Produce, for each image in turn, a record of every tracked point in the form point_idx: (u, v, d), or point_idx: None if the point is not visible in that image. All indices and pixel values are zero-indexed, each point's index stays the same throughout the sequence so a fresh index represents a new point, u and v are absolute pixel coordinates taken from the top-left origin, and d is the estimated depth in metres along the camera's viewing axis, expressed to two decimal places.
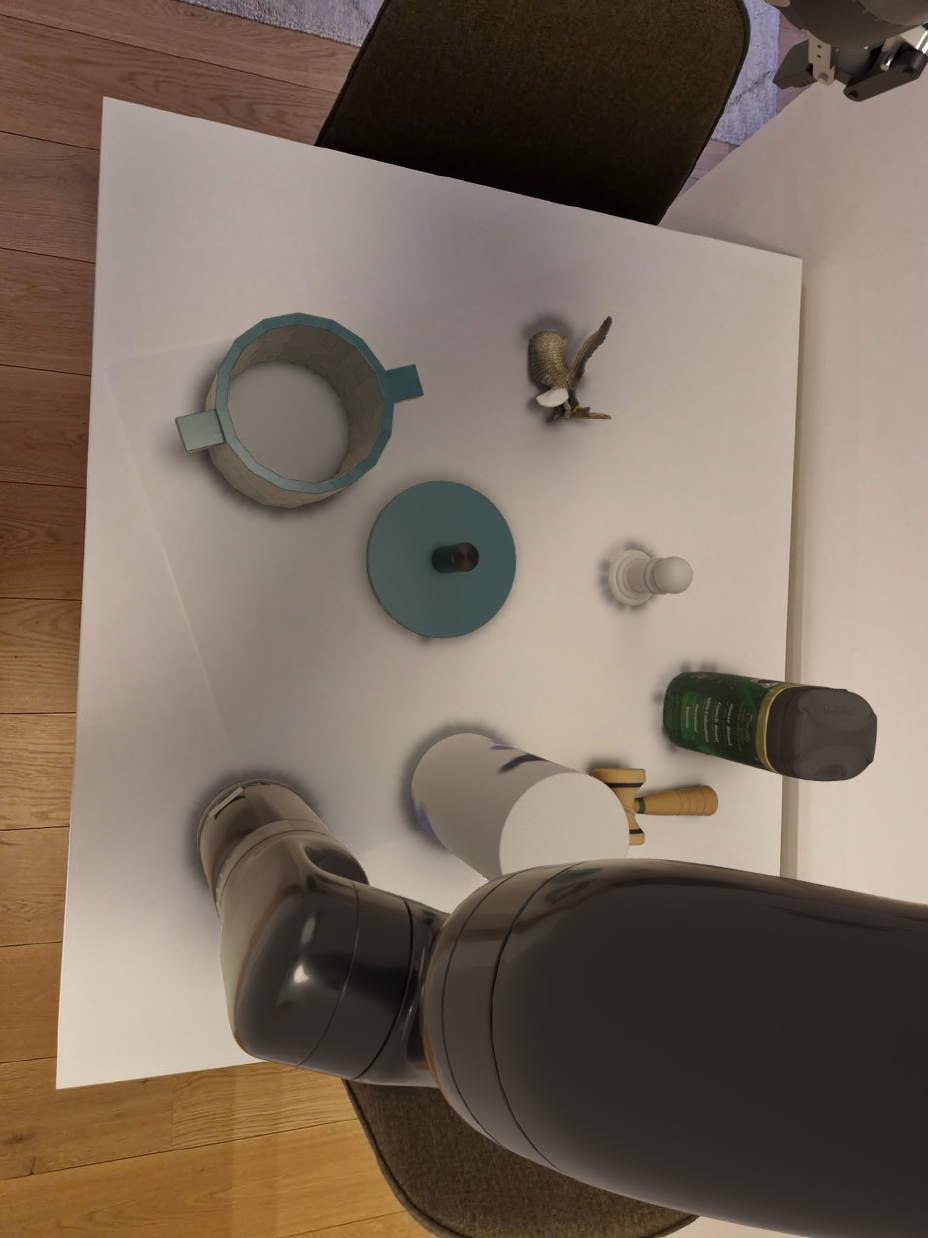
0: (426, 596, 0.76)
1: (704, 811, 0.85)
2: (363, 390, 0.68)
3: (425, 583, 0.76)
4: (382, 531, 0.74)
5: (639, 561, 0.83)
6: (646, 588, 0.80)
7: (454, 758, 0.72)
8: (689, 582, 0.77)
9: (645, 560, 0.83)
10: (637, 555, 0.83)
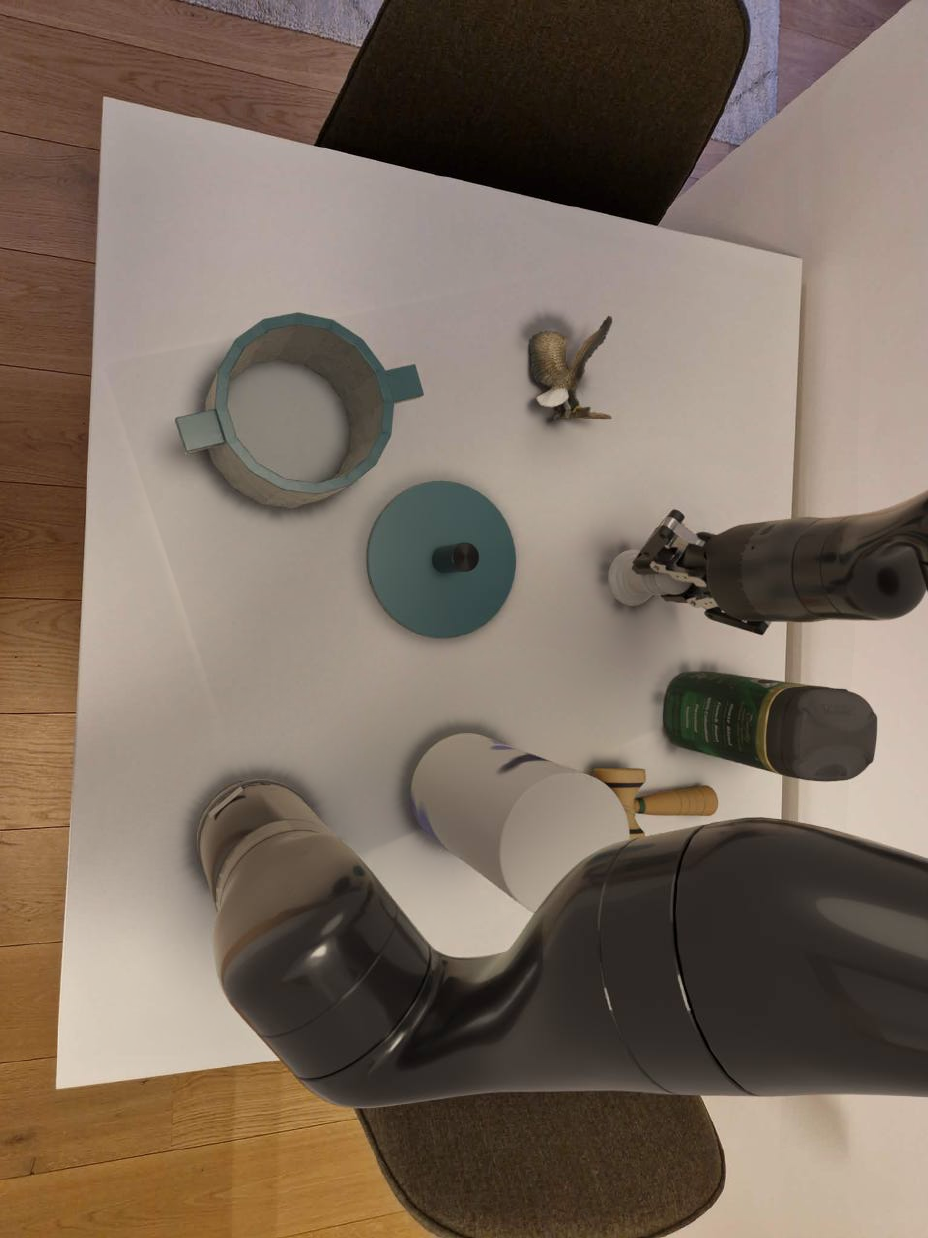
0: (426, 596, 0.76)
1: (704, 811, 0.85)
2: (363, 390, 0.68)
3: (425, 583, 0.76)
4: (382, 531, 0.74)
5: None
6: (647, 588, 0.80)
7: (454, 758, 0.72)
8: (690, 583, 0.77)
9: None
10: None
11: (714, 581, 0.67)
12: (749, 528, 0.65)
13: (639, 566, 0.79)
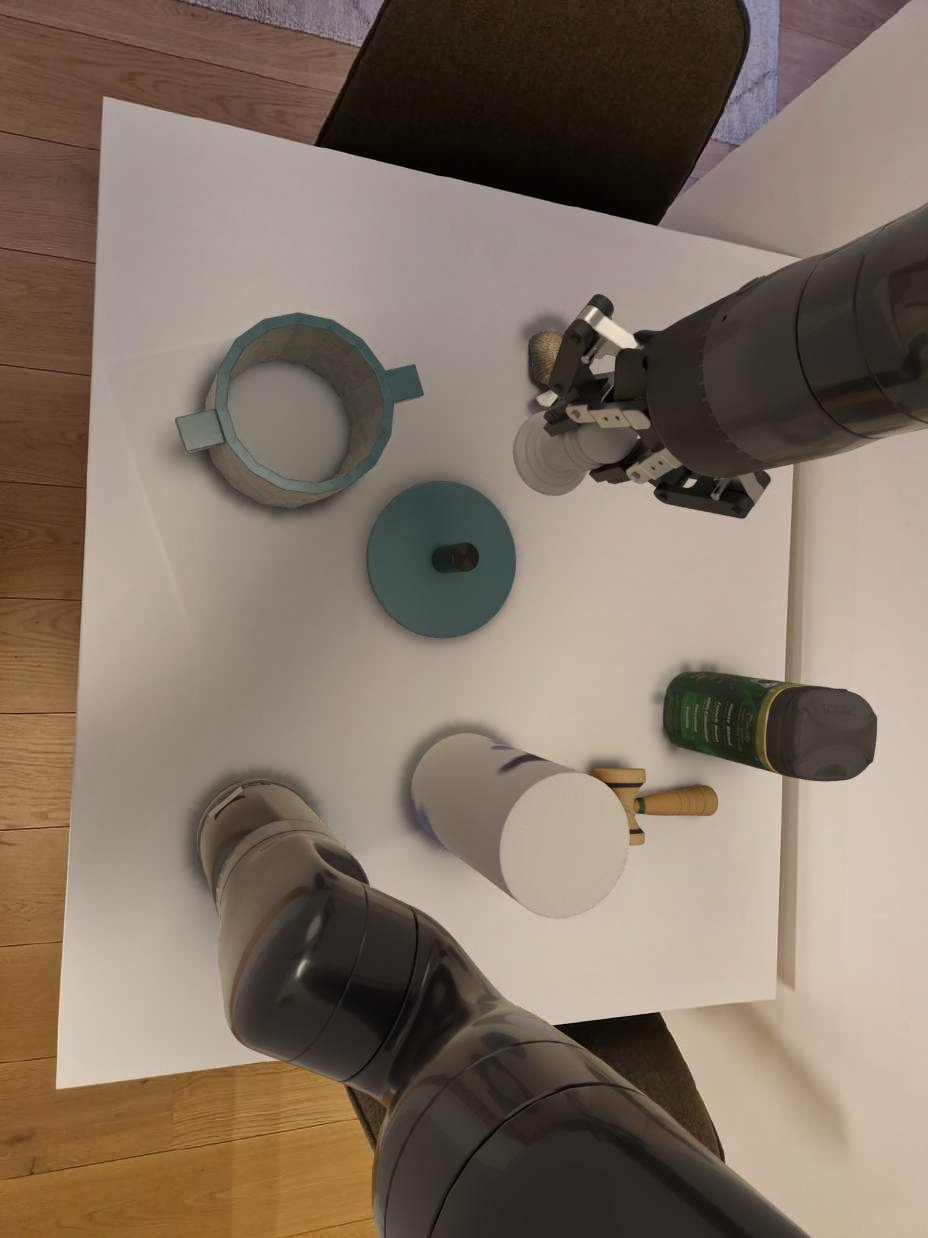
0: (426, 596, 0.76)
1: (704, 811, 0.85)
2: (363, 390, 0.68)
3: (425, 583, 0.76)
4: (382, 531, 0.74)
5: None
6: (567, 459, 0.51)
7: (454, 758, 0.72)
8: (631, 442, 0.48)
9: None
10: None
11: (658, 399, 0.38)
12: (719, 300, 0.37)
13: (553, 421, 0.50)
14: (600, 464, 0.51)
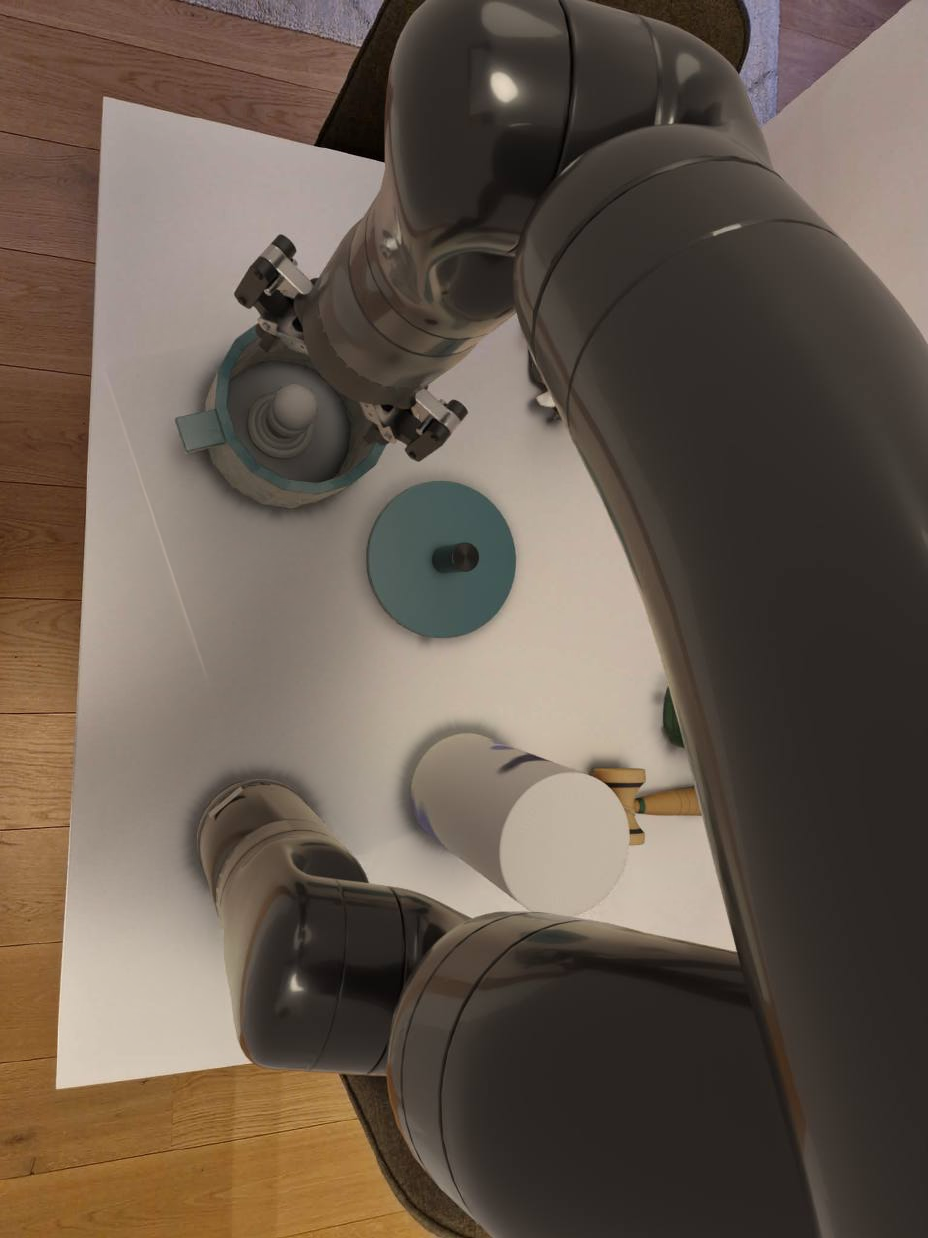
0: (426, 596, 0.76)
1: None
2: None
3: (425, 583, 0.76)
4: (382, 531, 0.74)
5: None
6: (273, 427, 0.67)
7: (454, 758, 0.72)
8: (308, 413, 0.64)
9: None
10: None
11: (307, 335, 0.44)
12: None
13: (263, 337, 0.54)
14: (297, 431, 0.67)
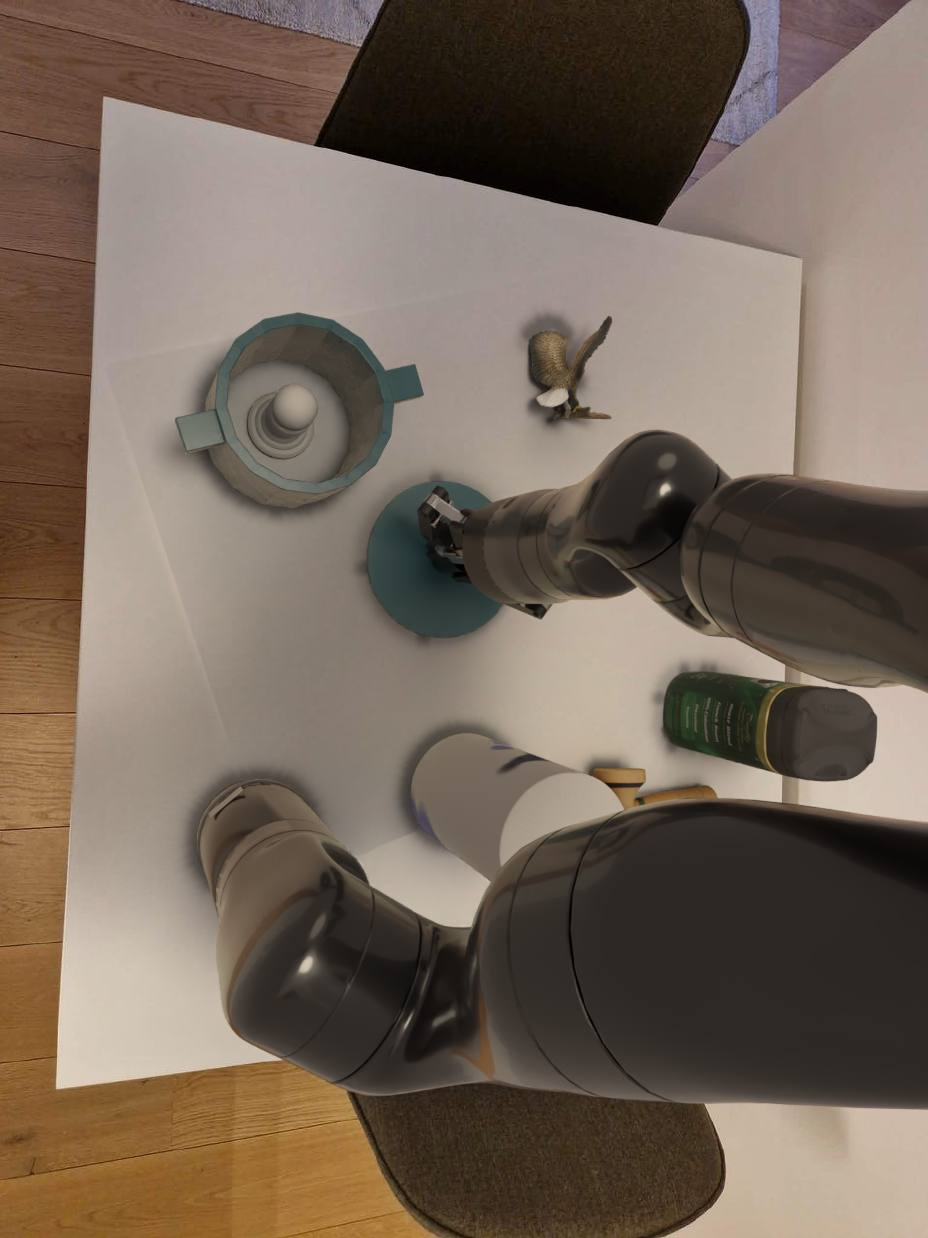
0: (426, 596, 0.76)
1: None
2: (363, 390, 0.68)
3: (425, 583, 0.76)
4: (382, 531, 0.74)
5: None
6: (273, 427, 0.67)
7: (454, 758, 0.72)
8: (308, 413, 0.64)
9: None
10: None
11: (467, 560, 0.61)
12: (500, 502, 0.60)
13: (431, 551, 0.74)
14: (297, 431, 0.67)
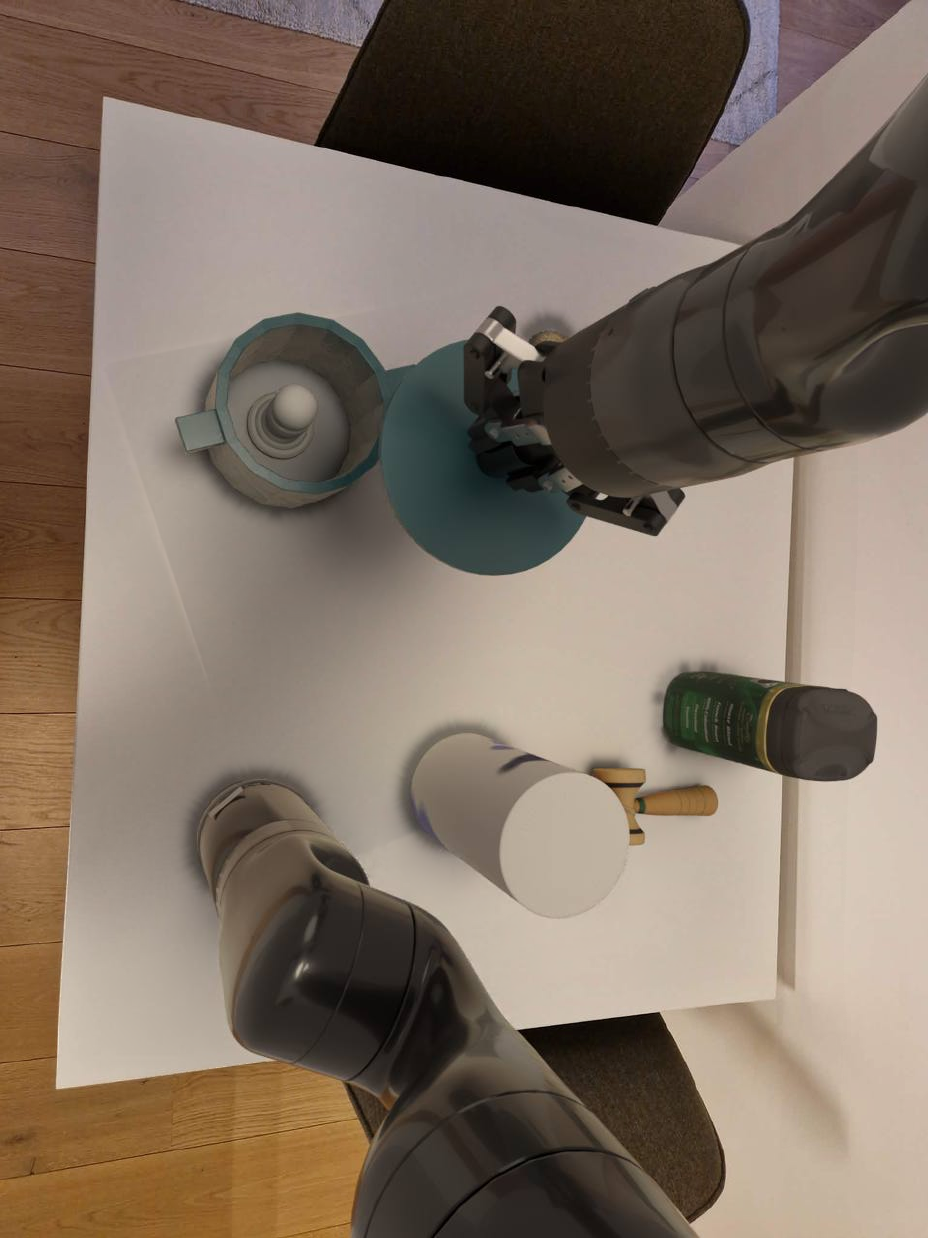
0: (467, 511, 0.50)
1: (704, 811, 0.85)
2: (363, 390, 0.68)
3: (466, 491, 0.50)
4: (402, 409, 0.49)
5: None
6: (273, 427, 0.67)
7: (454, 758, 0.72)
8: (308, 413, 0.64)
9: None
10: None
11: (553, 416, 0.36)
12: None
13: (477, 439, 0.48)
14: (297, 431, 0.67)
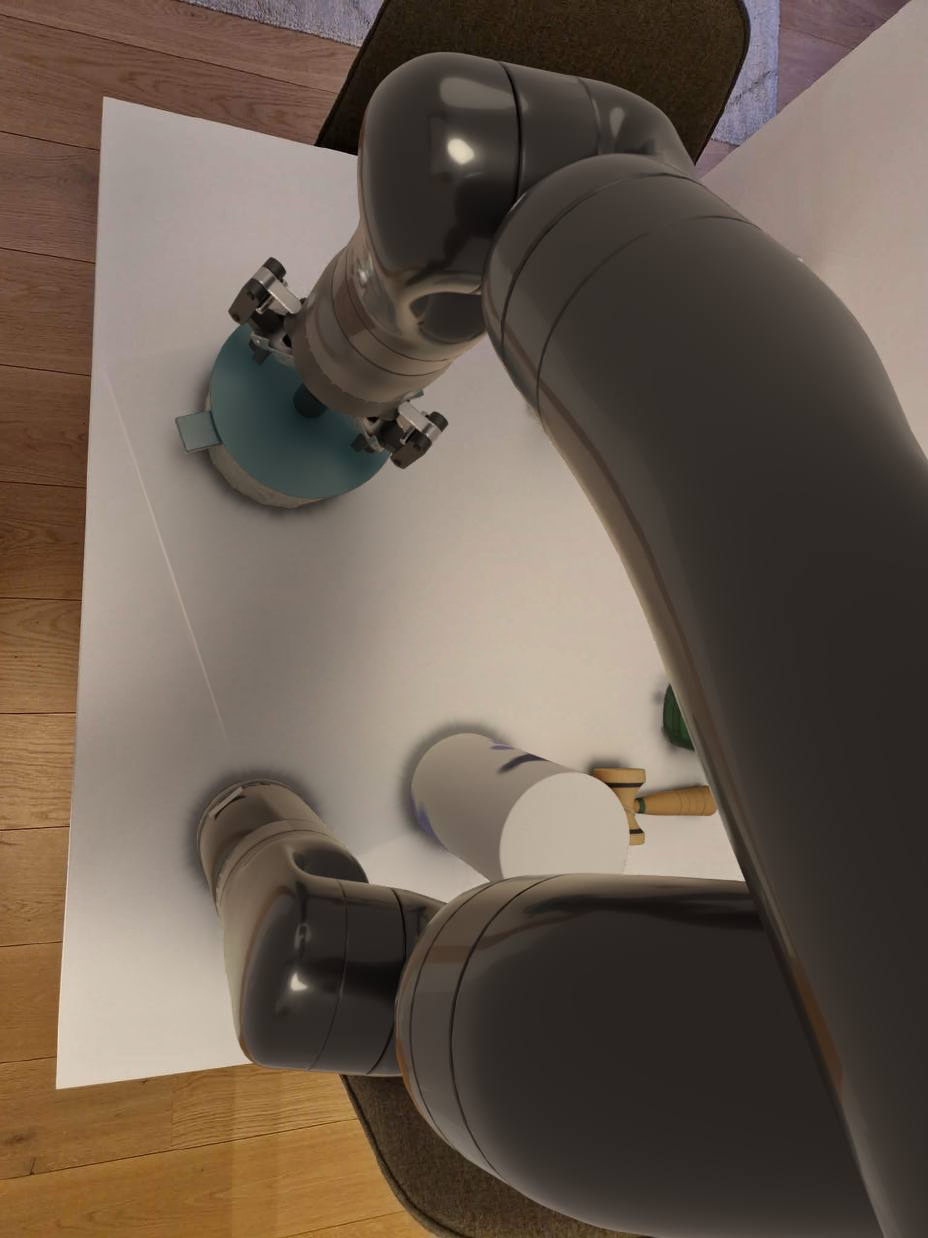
0: (286, 445, 0.62)
1: (704, 811, 0.85)
2: None
3: (285, 429, 0.61)
4: (228, 360, 0.60)
5: None
6: None
7: (454, 758, 0.72)
8: None
9: None
10: None
11: (295, 352, 0.47)
12: None
13: (256, 351, 0.58)
14: None
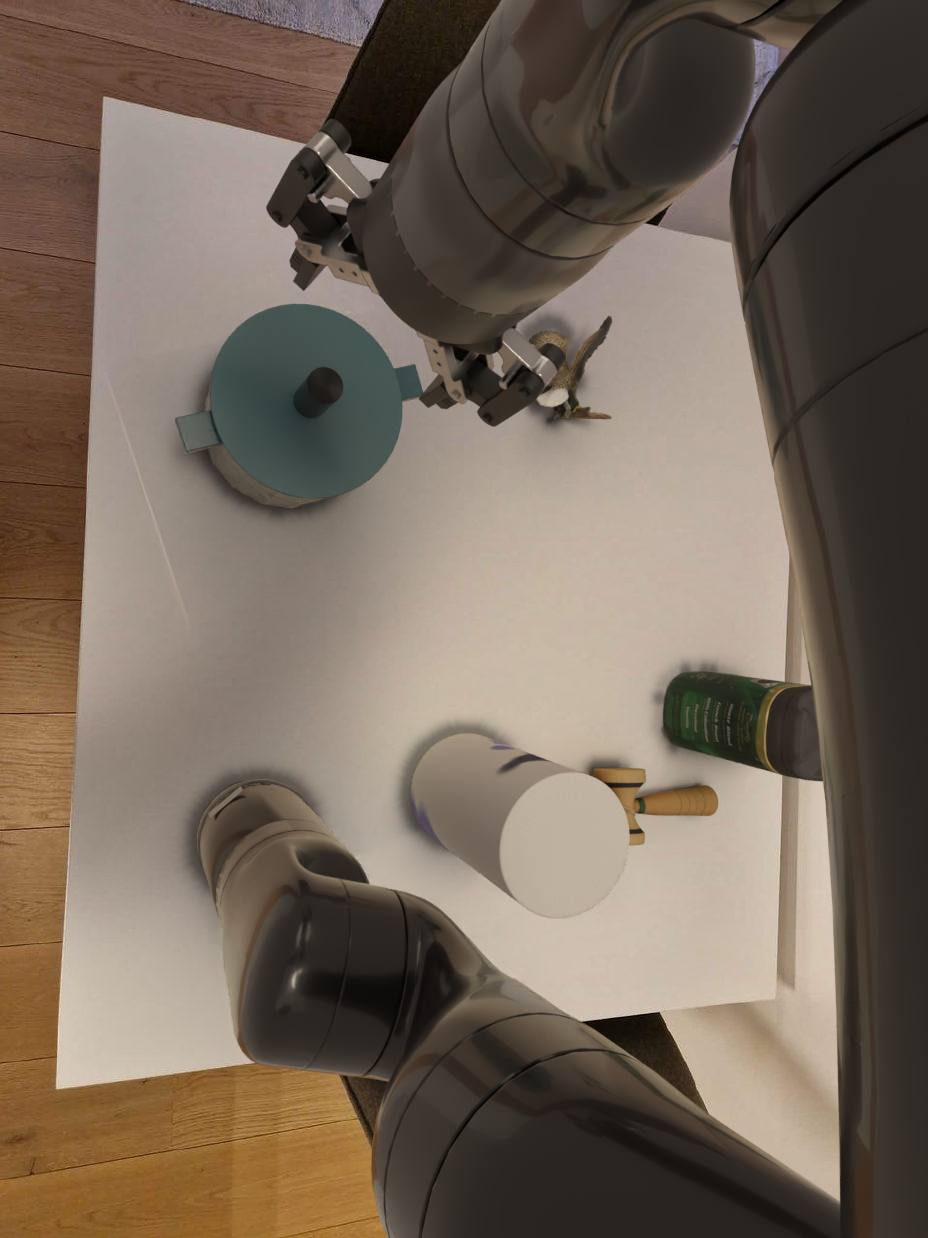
0: (286, 445, 0.62)
1: (704, 811, 0.85)
2: None
3: (285, 429, 0.61)
4: (228, 360, 0.60)
5: None
6: None
7: (454, 758, 0.72)
8: None
9: None
10: None
11: (369, 246, 0.33)
12: None
13: None
14: None
